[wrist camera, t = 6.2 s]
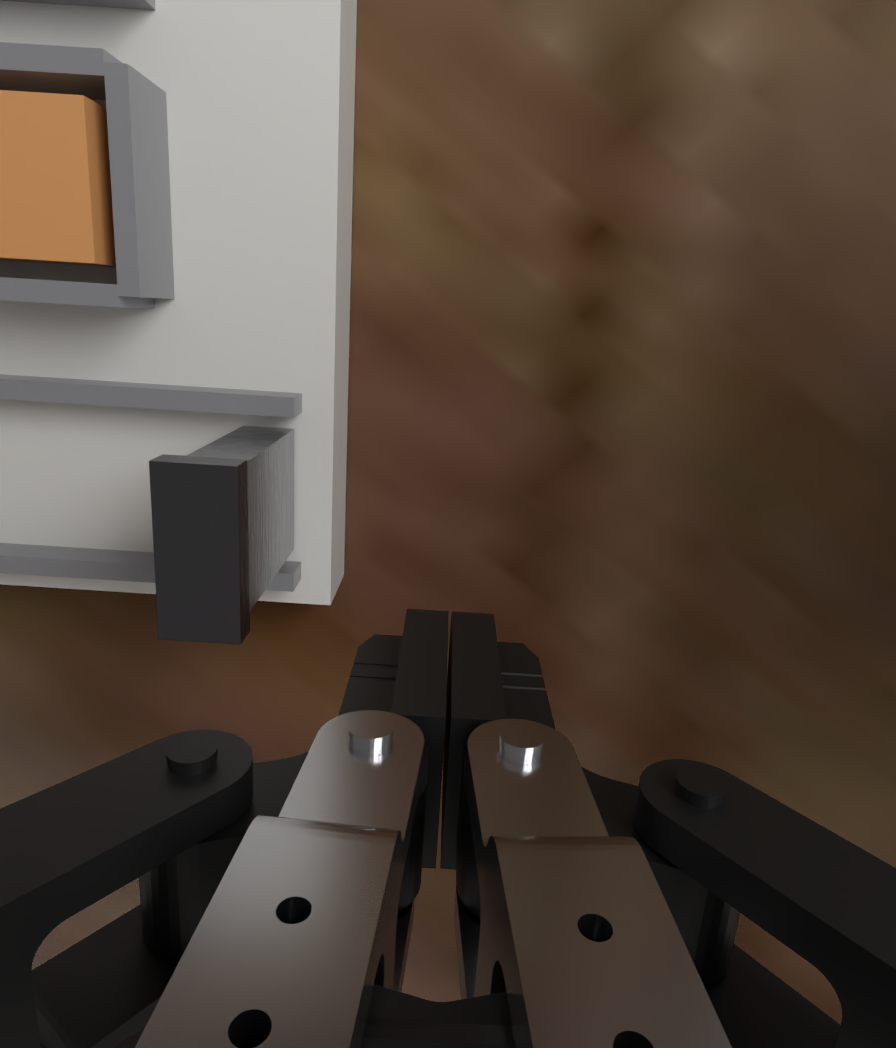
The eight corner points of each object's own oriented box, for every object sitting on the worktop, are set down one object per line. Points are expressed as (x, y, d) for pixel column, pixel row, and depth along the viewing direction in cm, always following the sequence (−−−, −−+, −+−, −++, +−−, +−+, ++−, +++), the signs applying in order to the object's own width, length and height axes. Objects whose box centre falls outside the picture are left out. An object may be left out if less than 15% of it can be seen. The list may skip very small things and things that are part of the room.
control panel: (362, -248, 21) (328, -437, 16) (344, 574, 28) (316, 636, 23) (-197, -284, 21) (-419, -484, 16) (-77, 548, 28) (-202, 603, 23)
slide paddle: (300, 422, 23) (237, 466, 17) (300, 555, 24) (240, 644, 18) (237, 418, 23) (148, 461, 17) (240, 551, 24) (158, 639, 18)
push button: (125, 119, 21) (83, 94, 18) (133, 268, 22) (94, 263, 20) (-16, 110, 21) (-76, 85, 18) (-1, 260, 22) (-55, 253, 20)
